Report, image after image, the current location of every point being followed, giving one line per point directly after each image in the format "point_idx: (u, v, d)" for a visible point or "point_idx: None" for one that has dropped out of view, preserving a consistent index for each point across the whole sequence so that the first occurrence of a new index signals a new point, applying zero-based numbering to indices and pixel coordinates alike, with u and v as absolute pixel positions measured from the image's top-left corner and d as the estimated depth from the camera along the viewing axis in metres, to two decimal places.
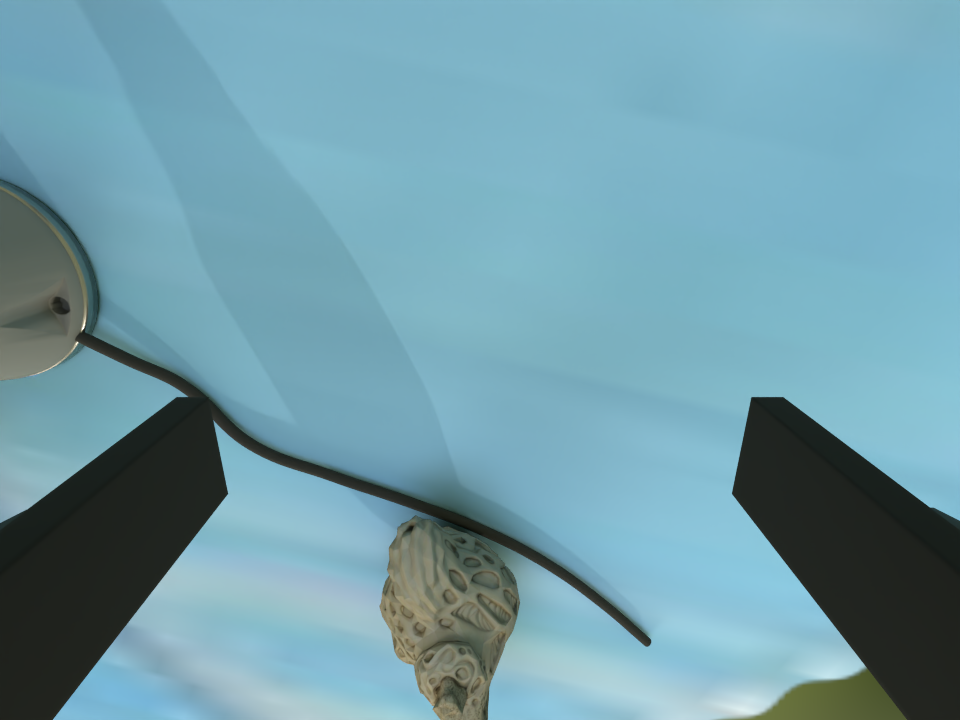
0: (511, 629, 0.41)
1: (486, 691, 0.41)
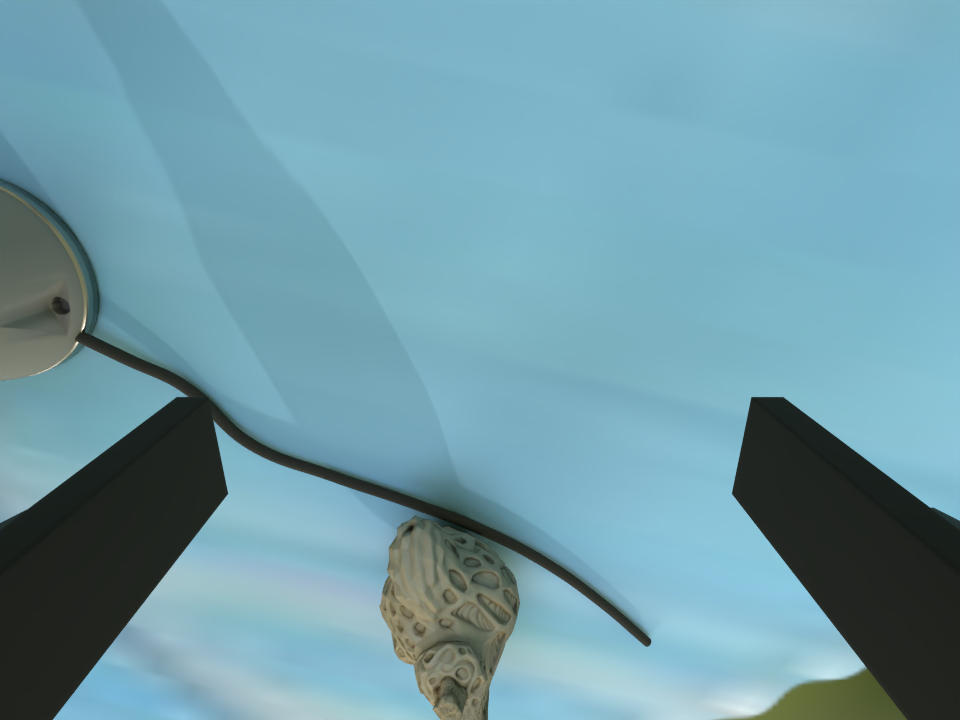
0: (511, 629, 0.41)
1: (486, 691, 0.41)
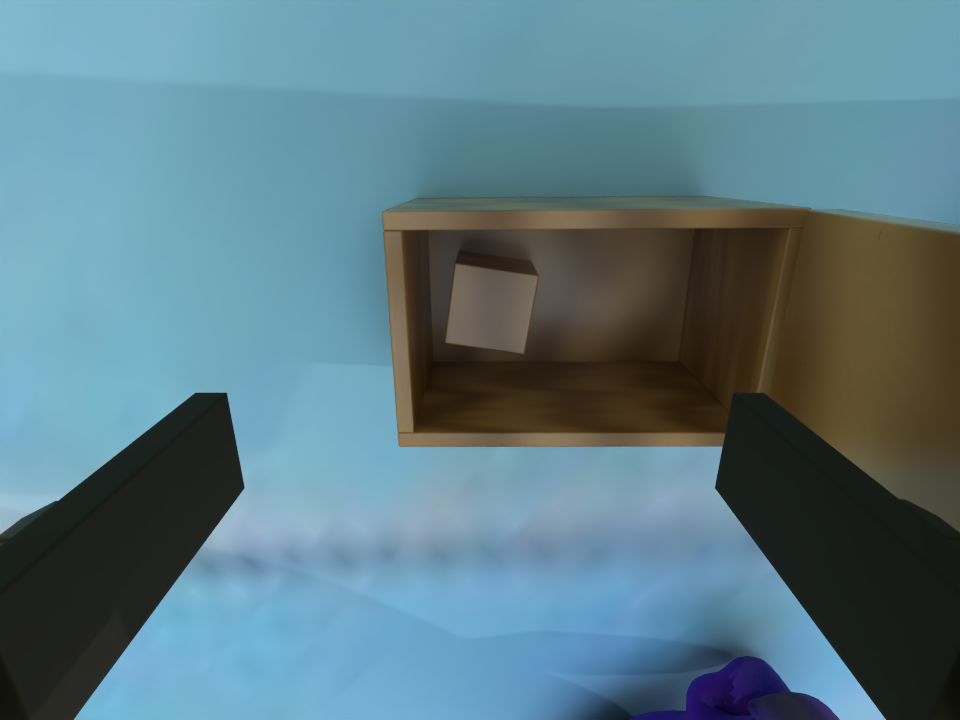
0: None
1: None
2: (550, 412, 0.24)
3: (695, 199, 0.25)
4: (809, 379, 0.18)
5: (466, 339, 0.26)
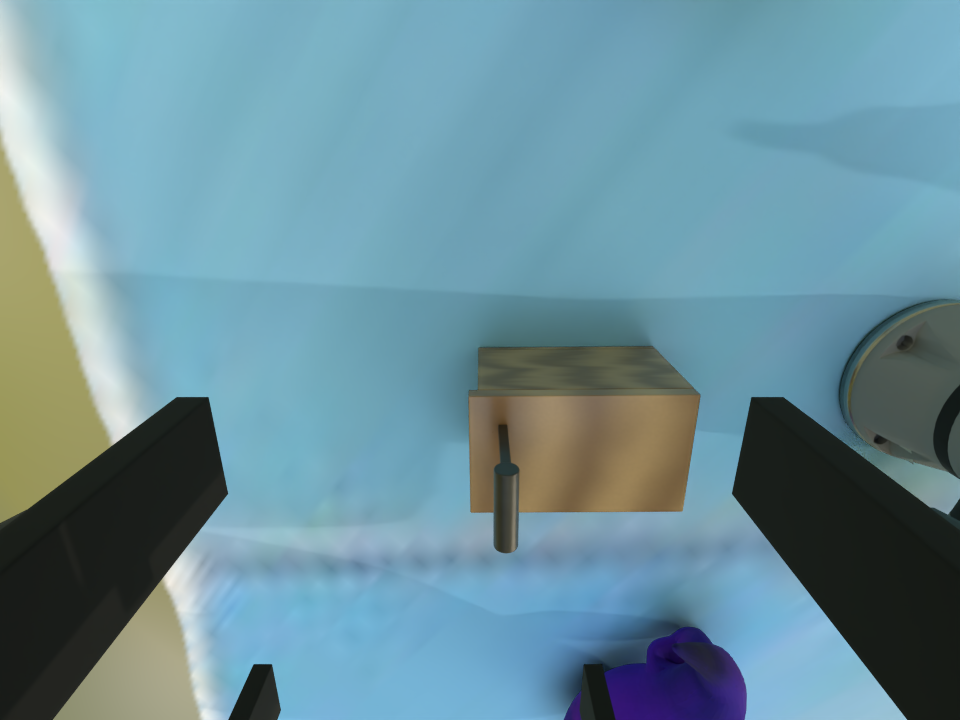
0: None
1: None
2: None
3: (642, 358, 0.44)
4: None
5: None
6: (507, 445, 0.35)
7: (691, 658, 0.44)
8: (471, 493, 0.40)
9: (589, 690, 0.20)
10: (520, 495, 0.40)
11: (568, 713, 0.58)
